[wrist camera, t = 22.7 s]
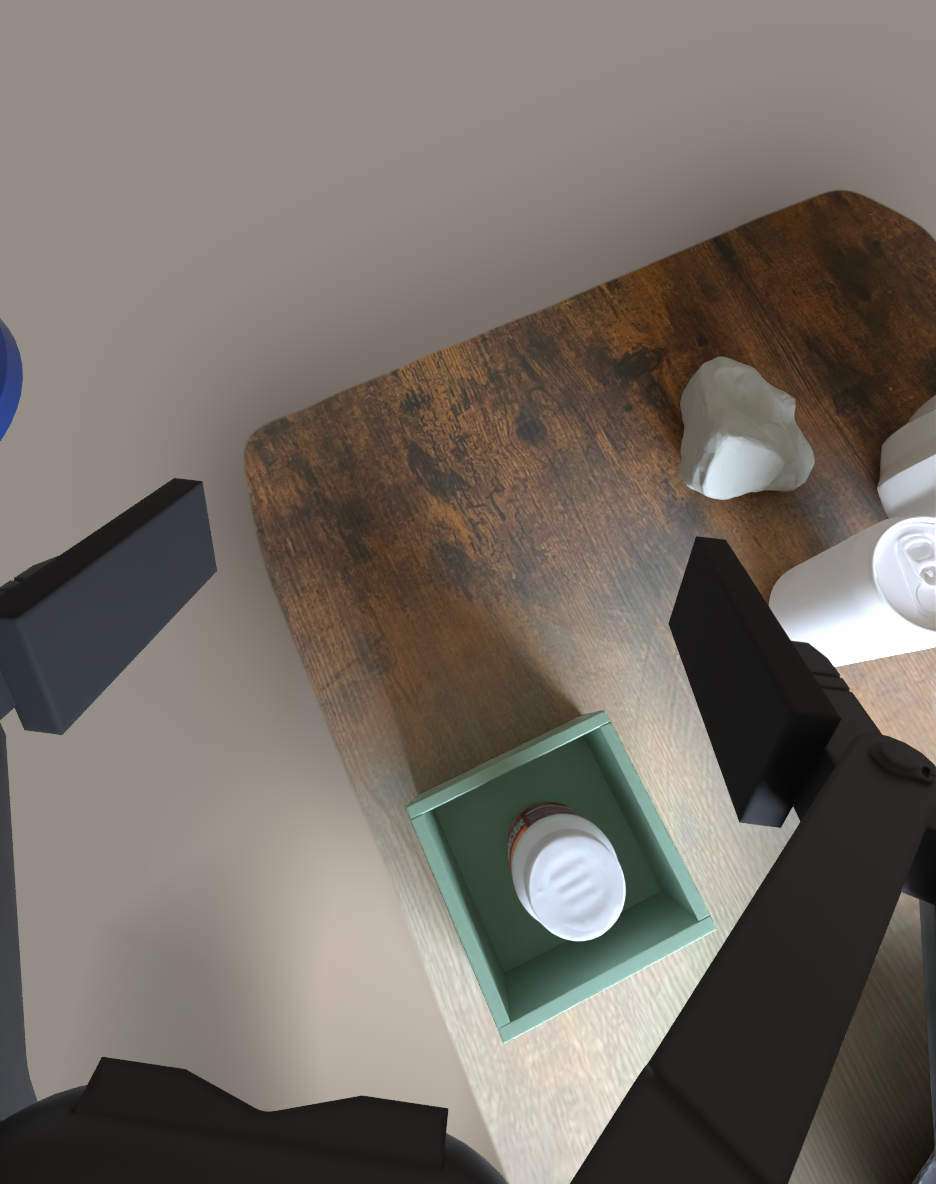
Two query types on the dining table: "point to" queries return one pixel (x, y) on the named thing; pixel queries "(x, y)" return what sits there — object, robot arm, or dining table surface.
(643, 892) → the bin
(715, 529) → the dining table surface
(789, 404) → the decorative stone
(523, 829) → the pill bottle
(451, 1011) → the dining table surface
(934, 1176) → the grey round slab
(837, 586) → the beverage can
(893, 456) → the vase
